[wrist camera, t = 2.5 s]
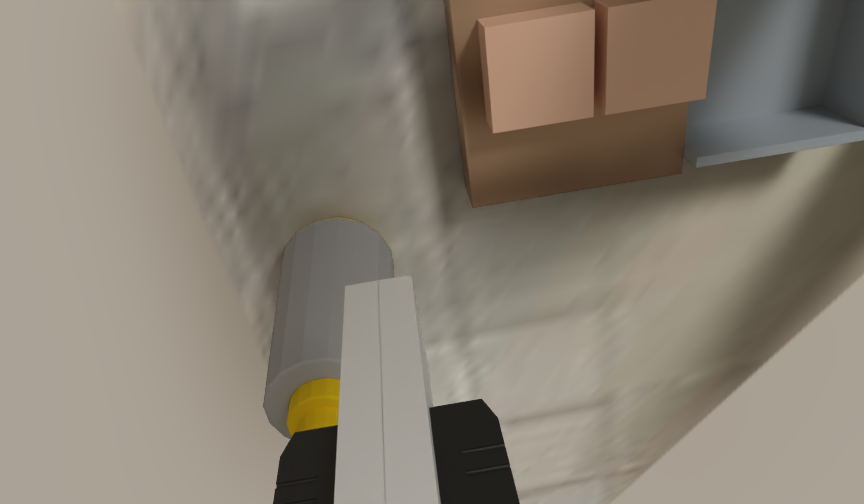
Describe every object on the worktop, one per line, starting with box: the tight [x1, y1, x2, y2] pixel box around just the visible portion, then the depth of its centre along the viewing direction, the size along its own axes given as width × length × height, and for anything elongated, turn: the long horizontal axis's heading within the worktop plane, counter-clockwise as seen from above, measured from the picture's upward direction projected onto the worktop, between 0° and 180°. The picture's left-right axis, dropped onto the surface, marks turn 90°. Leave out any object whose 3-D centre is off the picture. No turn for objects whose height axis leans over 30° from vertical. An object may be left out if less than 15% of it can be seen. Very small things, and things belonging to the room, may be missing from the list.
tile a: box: [477, 2, 595, 134], centre depth 28 cm, size 5×5×2 cm
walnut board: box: [444, 0, 689, 208], centre depth 30 cm, size 15×12×3 cm
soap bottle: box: [263, 217, 394, 439], centre depth 30 cm, size 7×7×18 cm
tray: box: [683, 0, 864, 168], centre depth 30 cm, size 13×10×4 cm
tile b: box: [593, 0, 717, 115], centre depth 28 cm, size 5×5×2 cm
